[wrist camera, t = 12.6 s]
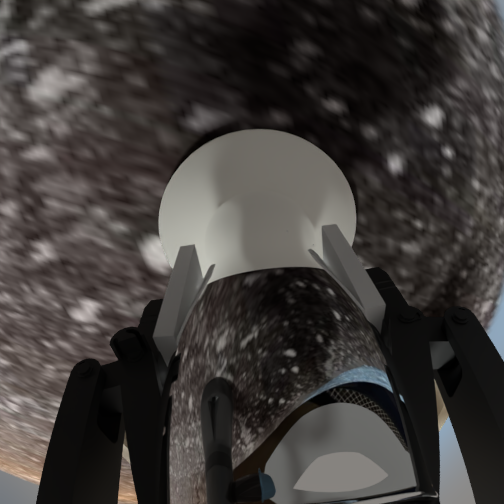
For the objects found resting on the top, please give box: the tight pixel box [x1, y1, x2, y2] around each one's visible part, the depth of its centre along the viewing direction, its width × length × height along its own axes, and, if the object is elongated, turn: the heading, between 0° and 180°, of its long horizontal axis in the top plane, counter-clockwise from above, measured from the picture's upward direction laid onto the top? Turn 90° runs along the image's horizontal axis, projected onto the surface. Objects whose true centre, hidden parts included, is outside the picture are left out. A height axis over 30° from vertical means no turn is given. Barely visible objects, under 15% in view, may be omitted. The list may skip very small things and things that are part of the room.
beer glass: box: [154, 190, 438, 504], centre depth 11 cm, size 7×7×15 cm
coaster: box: [159, 128, 356, 279], centre depth 19 cm, size 12×12×1 cm
